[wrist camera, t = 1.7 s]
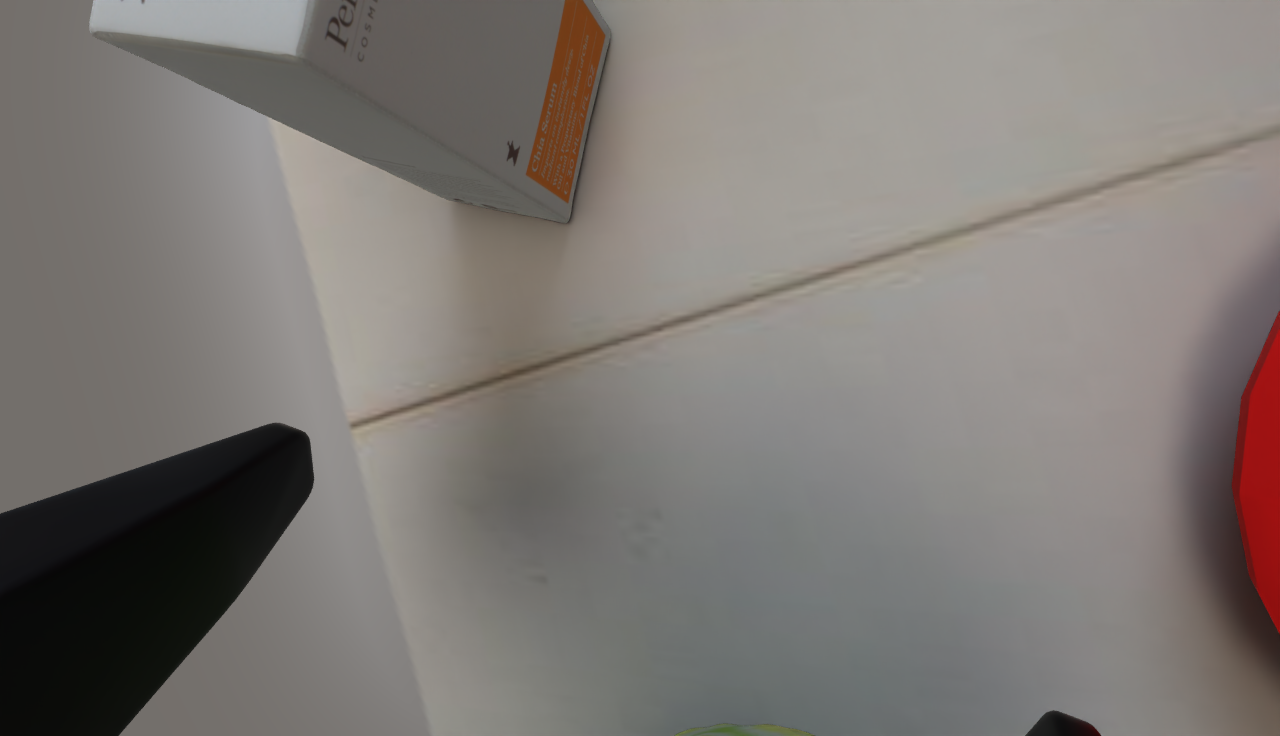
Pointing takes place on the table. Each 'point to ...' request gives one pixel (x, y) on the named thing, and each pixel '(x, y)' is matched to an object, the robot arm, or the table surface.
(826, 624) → the table surface
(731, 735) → the decorative ball
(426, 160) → the cosmetic box
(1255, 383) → the flat cone with hole
